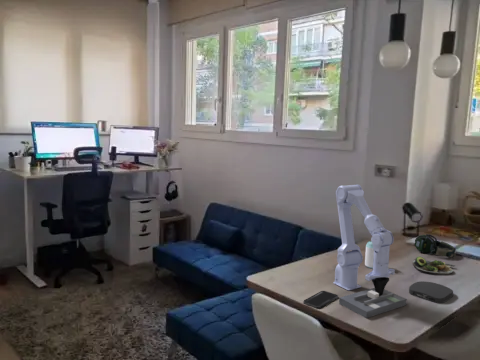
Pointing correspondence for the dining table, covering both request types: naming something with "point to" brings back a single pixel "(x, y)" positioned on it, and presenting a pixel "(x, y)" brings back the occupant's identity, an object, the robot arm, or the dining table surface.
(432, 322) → the dining table surface
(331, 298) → the phone
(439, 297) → the media streaming box
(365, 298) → the panel
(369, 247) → the can
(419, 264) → the salad plate
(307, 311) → the dining table surface
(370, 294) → the block
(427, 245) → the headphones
